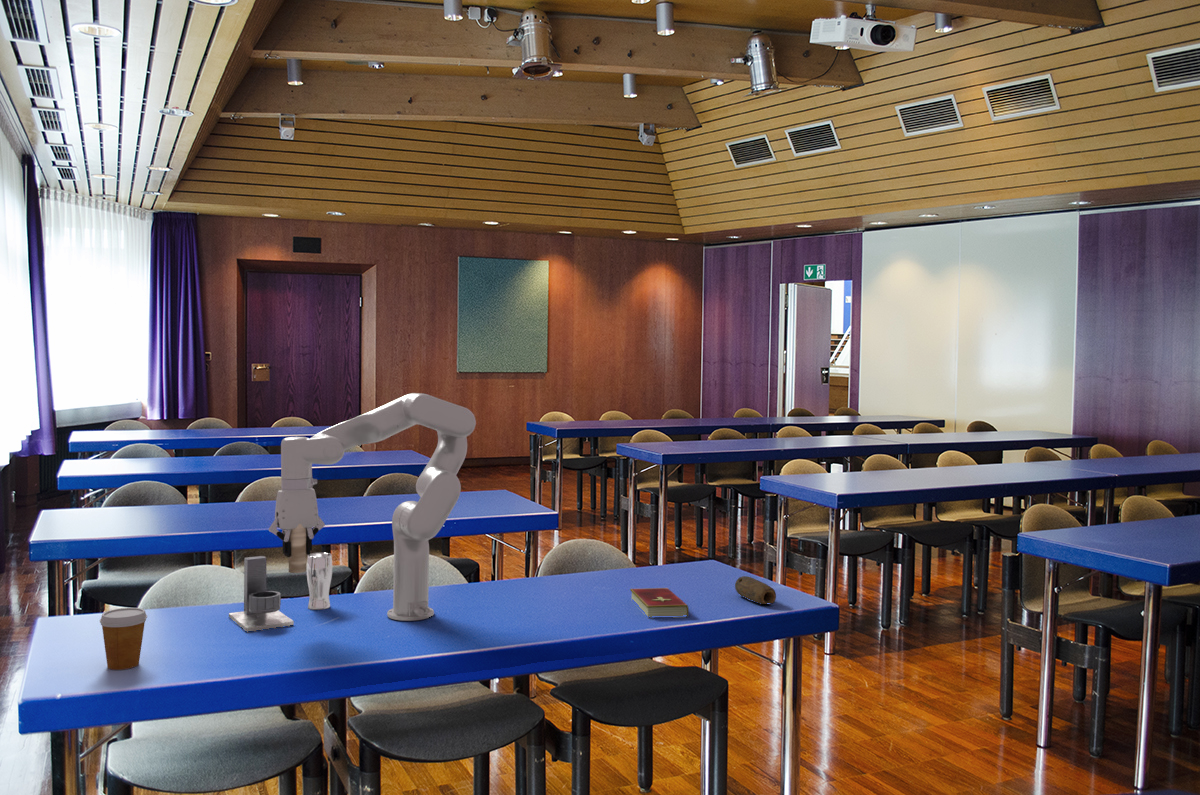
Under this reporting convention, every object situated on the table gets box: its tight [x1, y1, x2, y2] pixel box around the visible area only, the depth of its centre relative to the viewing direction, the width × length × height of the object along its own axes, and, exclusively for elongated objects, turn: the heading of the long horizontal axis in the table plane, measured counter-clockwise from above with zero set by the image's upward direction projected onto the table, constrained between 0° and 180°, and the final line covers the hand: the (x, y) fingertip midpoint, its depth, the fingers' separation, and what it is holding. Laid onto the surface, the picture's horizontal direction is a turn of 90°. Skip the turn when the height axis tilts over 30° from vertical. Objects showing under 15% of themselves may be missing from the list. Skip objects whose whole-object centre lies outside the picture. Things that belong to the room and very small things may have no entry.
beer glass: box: [306, 552, 333, 611], centre depth 257 cm, size 7×7×15 cm
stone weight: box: [734, 575, 777, 605], centre depth 274 cm, size 15×7×7 cm, turn 28°
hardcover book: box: [629, 587, 689, 617], centre depth 263 cm, size 12×21×4 cm, turn 11°
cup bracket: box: [228, 555, 295, 633], centre depth 241 cm, size 17×12×16 cm
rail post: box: [288, 524, 307, 574], centre depth 234 cm, size 4×4×14 cm
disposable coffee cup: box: [99, 607, 148, 671], centre depth 204 cm, size 10×10×12 cm
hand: (297, 554), depth 234 cm, fingers closed on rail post, 4 cm apart
